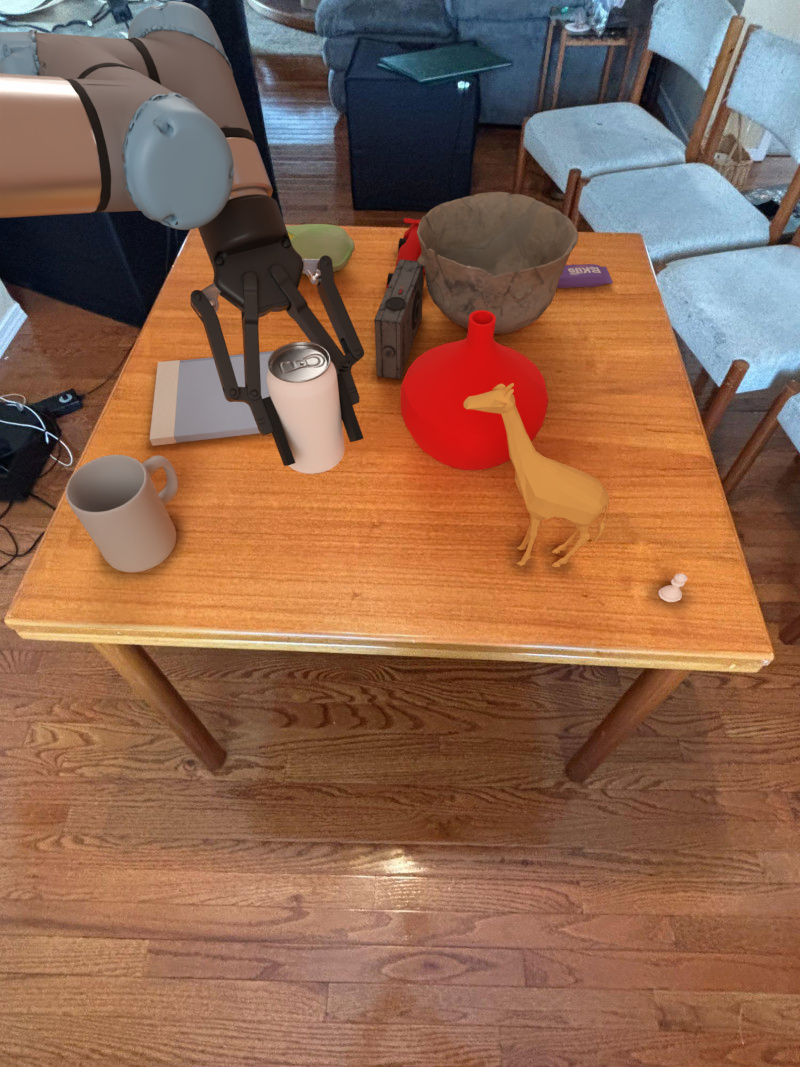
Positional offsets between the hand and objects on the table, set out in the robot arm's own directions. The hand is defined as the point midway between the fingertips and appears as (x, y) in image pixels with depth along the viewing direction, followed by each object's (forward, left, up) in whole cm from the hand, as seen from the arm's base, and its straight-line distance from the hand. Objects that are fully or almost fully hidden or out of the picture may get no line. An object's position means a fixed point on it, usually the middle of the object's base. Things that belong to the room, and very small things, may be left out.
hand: (323, 451), depth 62 cm
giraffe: (+21, -4, -17) cm, 27 cm away
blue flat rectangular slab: (-13, +29, -16) cm, 35 cm away
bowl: (+28, +41, -17) cm, 52 cm away
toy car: (+18, +56, -17) cm, 61 cm away
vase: (+19, +15, -17) cm, 29 cm away
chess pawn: (+36, -12, -17) cm, 41 cm away
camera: (+13, +36, -17) cm, 41 cm away
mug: (-22, +6, -17) cm, 28 cm away
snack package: (+45, +49, -17) cm, 68 cm away
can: (-1, +3, -4) cm, 5 cm away
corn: (-1, +60, -17) cm, 62 cm away
